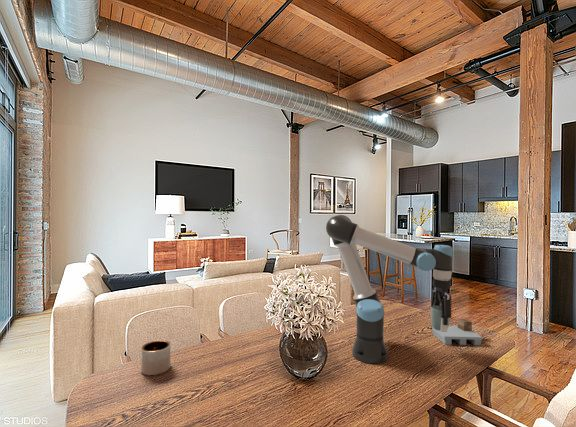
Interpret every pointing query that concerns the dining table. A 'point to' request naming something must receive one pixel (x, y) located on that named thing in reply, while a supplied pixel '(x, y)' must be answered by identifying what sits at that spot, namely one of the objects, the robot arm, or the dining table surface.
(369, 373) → the dining table surface
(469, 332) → the dock
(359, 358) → the robot arm
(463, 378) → the dining table surface
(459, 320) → the block
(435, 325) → the cup
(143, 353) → the planter
